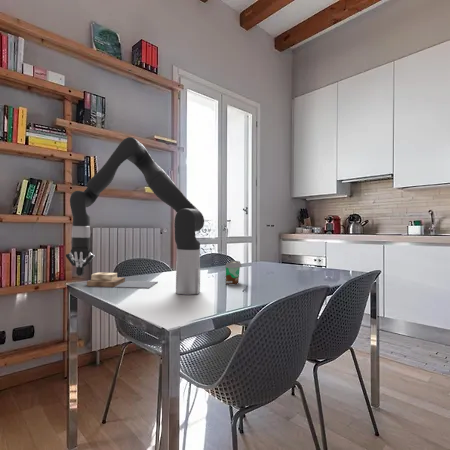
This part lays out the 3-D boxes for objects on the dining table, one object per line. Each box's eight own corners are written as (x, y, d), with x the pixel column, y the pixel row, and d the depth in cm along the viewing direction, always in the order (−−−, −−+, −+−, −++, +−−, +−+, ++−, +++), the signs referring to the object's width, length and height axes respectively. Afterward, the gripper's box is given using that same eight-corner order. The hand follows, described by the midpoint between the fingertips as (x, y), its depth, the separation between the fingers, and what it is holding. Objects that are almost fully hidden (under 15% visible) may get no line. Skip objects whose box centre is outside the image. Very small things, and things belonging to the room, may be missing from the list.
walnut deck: (124, 281, 150) (124, 277, 150) (114, 286, 138) (114, 282, 138) (99, 281, 151) (99, 276, 151) (86, 286, 139) (87, 281, 139)
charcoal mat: (157, 282, 150) (157, 281, 150) (149, 288, 136) (149, 287, 136) (126, 281, 151) (126, 280, 151) (114, 287, 137) (114, 286, 137)
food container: (238, 286, 146) (239, 263, 146) (225, 285, 147) (225, 263, 147) (242, 281, 158) (243, 260, 158) (230, 280, 160) (230, 260, 160)
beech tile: (117, 278, 147) (117, 272, 147) (111, 280, 141) (111, 275, 141) (97, 277, 148) (97, 272, 148) (91, 280, 142) (91, 274, 142)
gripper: (99, 236, 148) (98, 274, 148) (71, 235, 149) (70, 273, 149) (91, 237, 141) (90, 277, 141) (61, 236, 142) (60, 276, 142)
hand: (80, 275), depth 145 cm, fingers closed
